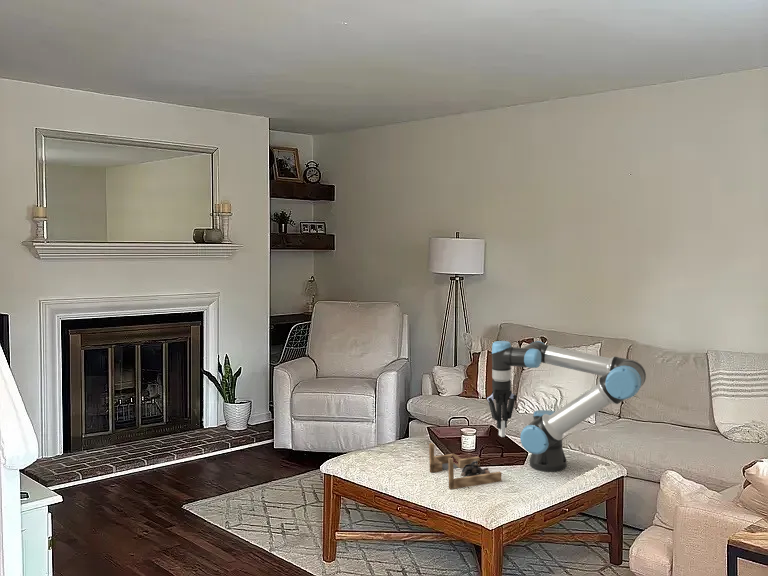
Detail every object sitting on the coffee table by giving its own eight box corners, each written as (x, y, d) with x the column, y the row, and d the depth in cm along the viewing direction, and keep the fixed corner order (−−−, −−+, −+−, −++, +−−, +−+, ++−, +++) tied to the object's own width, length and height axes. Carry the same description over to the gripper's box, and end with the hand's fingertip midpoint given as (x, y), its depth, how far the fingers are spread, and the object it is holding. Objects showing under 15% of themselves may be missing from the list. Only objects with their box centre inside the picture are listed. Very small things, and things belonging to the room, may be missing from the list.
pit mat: (452, 463, 328) (452, 462, 328) (458, 467, 322) (458, 467, 322) (436, 465, 326) (436, 464, 325) (442, 470, 319) (442, 469, 319)
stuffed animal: (458, 478, 308) (461, 453, 316) (460, 492, 314) (464, 468, 323) (487, 480, 305) (490, 455, 313) (489, 494, 311) (492, 469, 320)
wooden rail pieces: (470, 459, 332) (470, 431, 331) (501, 481, 306) (501, 451, 304) (422, 466, 325) (422, 438, 324) (450, 489, 298) (449, 459, 297)
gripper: (511, 375, 319) (511, 431, 321) (482, 378, 314) (483, 435, 317) (520, 379, 311) (520, 436, 314) (491, 382, 307) (491, 440, 310)
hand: (501, 435), depth 316 cm, fingers closed
